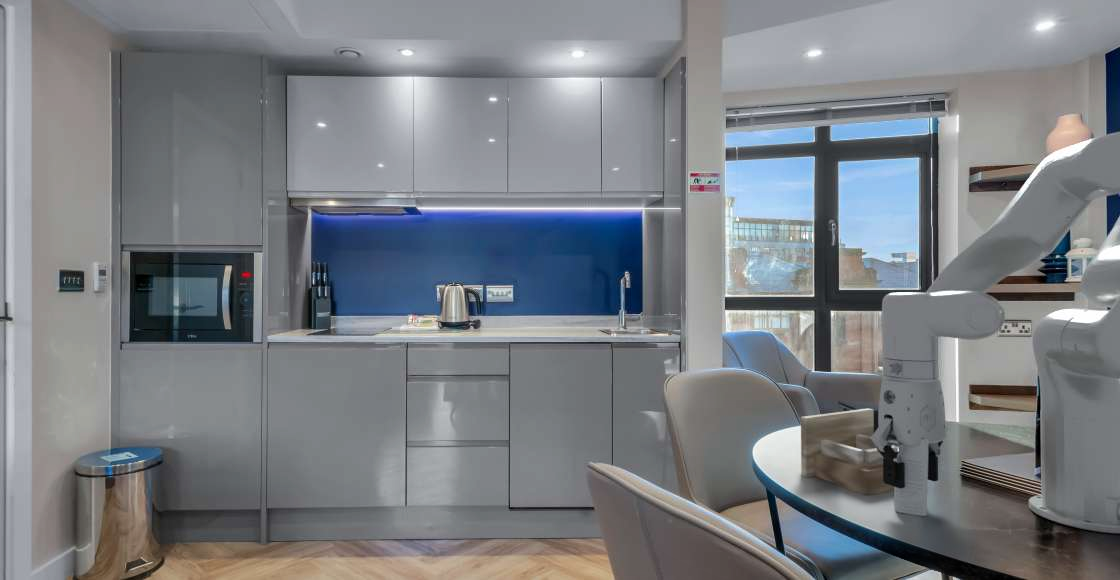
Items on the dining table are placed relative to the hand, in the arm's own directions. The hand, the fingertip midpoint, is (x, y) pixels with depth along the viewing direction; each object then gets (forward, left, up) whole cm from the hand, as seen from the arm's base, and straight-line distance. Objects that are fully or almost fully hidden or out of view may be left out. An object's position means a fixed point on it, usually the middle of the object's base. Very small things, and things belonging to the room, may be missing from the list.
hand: (910, 481), depth 90 cm
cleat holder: (+14, -6, -4) cm, 16 cm away
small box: (+24, -20, -5) cm, 32 cm away
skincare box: (0, 0, -5) cm, 5 cm away
